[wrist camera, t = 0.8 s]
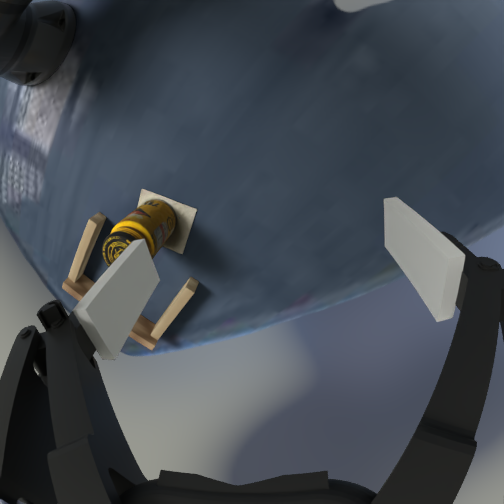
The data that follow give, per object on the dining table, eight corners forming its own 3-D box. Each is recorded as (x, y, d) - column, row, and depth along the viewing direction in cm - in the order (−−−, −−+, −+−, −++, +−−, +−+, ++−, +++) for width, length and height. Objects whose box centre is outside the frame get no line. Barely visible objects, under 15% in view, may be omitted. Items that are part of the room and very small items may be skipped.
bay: (74, 274, 46) (61, 287, 42) (99, 211, 40) (83, 222, 36) (159, 333, 50) (151, 350, 46) (198, 281, 44) (192, 298, 40)
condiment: (142, 188, 38) (98, 218, 27) (197, 209, 39) (169, 246, 28) (132, 233, 41) (92, 273, 31) (182, 253, 42) (155, 300, 31)
